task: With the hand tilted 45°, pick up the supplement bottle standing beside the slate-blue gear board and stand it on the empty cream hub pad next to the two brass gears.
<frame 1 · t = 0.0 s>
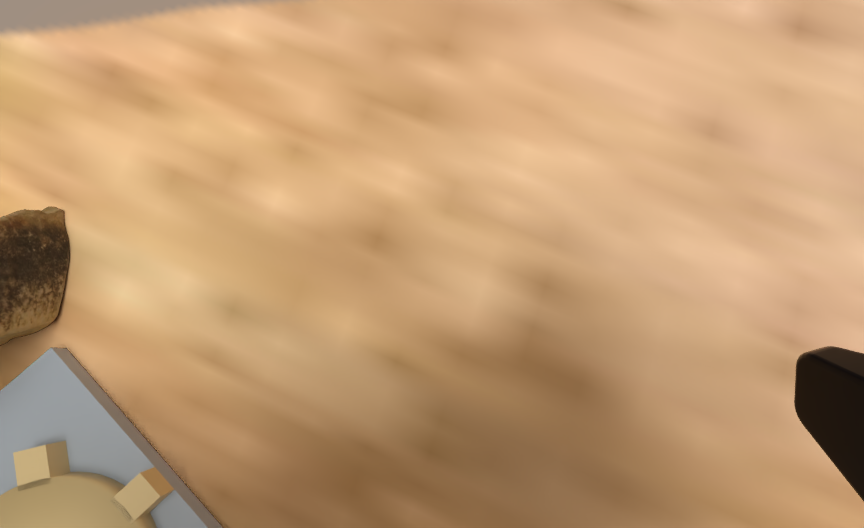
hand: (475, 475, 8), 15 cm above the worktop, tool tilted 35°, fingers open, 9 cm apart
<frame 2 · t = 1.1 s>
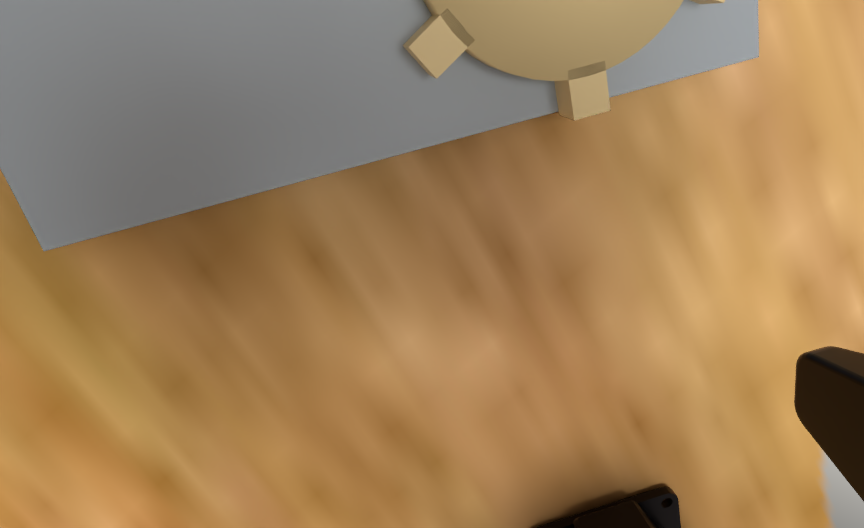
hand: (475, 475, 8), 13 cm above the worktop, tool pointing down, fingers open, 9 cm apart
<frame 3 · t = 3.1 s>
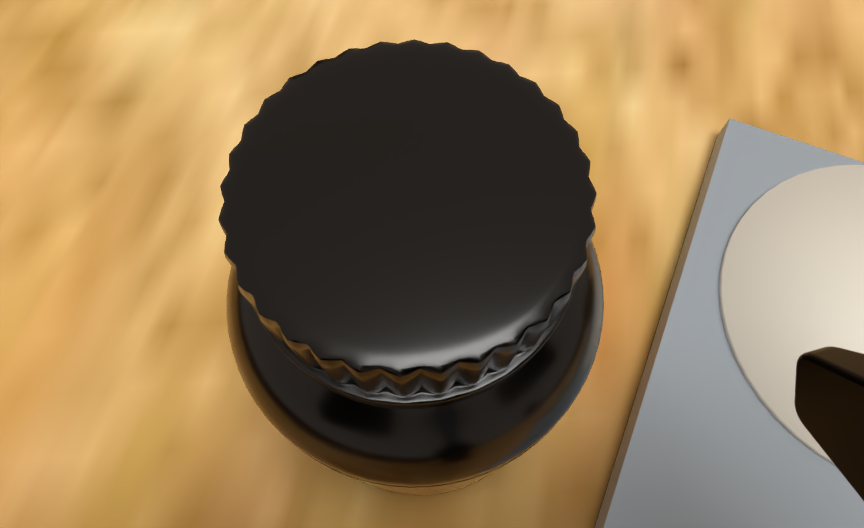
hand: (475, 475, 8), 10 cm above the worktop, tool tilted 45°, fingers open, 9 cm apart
supplement bottle: (424, 379, 19), on the worktop
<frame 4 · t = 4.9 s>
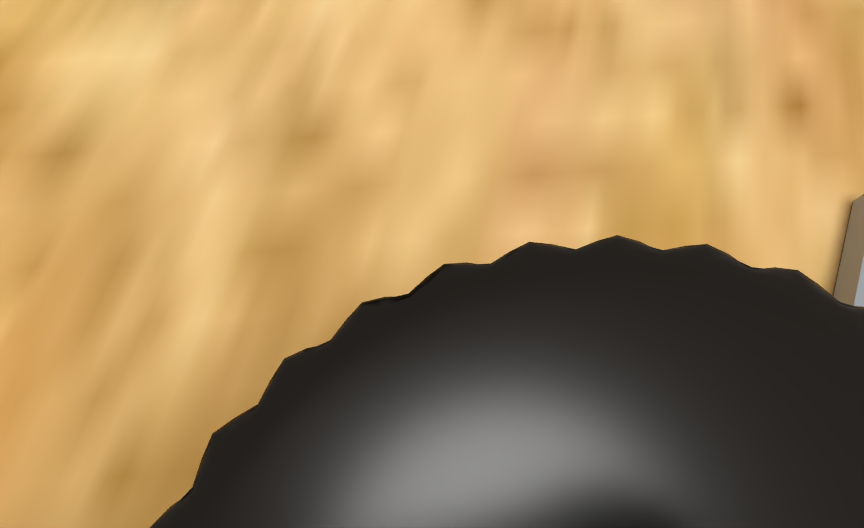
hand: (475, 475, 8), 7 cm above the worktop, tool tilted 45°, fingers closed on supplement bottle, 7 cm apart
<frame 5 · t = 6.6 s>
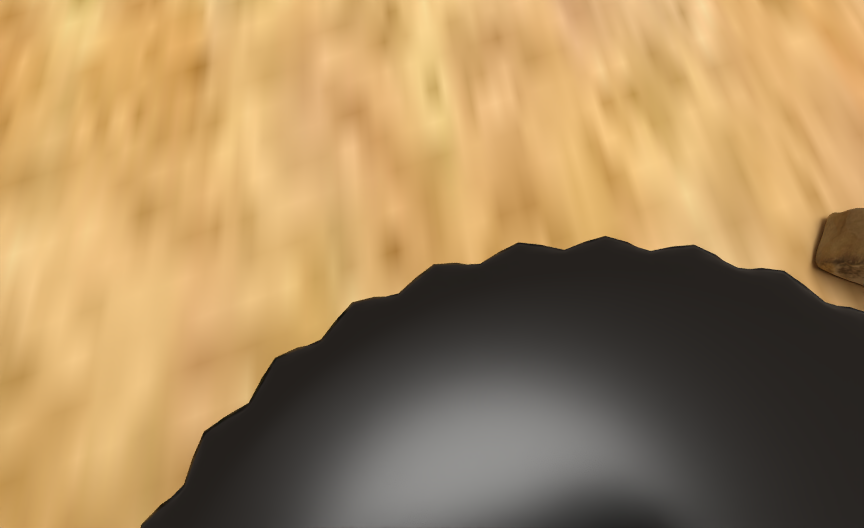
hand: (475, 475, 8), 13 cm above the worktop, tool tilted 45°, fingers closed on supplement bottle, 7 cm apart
when the fingers open (9 cm above the worktop, at t = 8.3 s): supplement bottle stays where it is, resting on hub pad.
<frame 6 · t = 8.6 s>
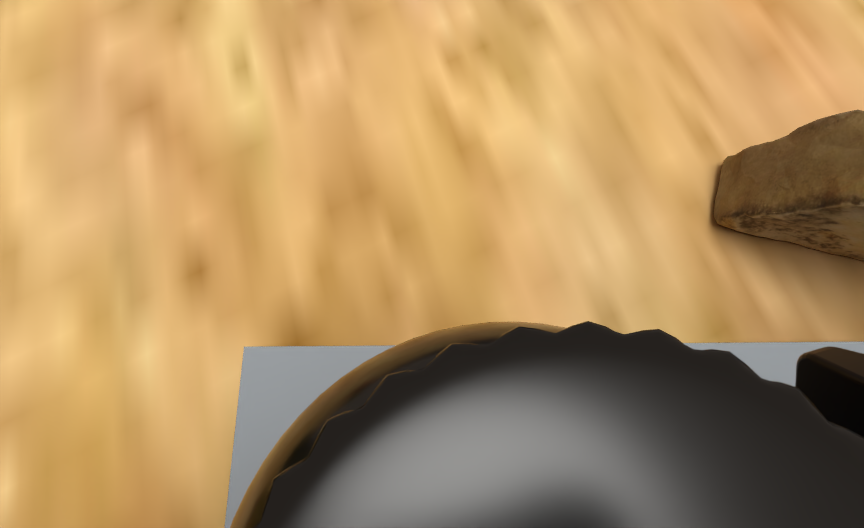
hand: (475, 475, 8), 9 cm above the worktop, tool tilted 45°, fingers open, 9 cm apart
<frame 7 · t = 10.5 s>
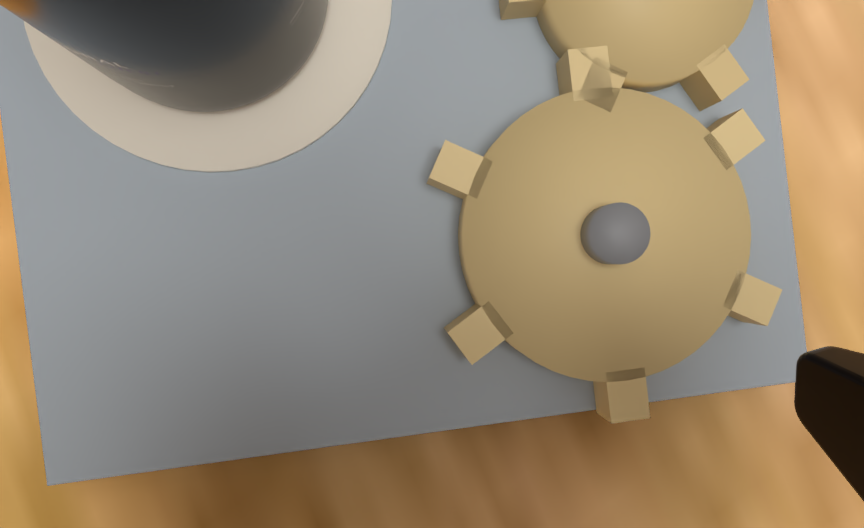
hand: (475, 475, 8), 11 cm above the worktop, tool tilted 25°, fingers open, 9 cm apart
hub pad: (221, 7, 18), resting on gear board
gear board: (406, 125, 19), on the worktop
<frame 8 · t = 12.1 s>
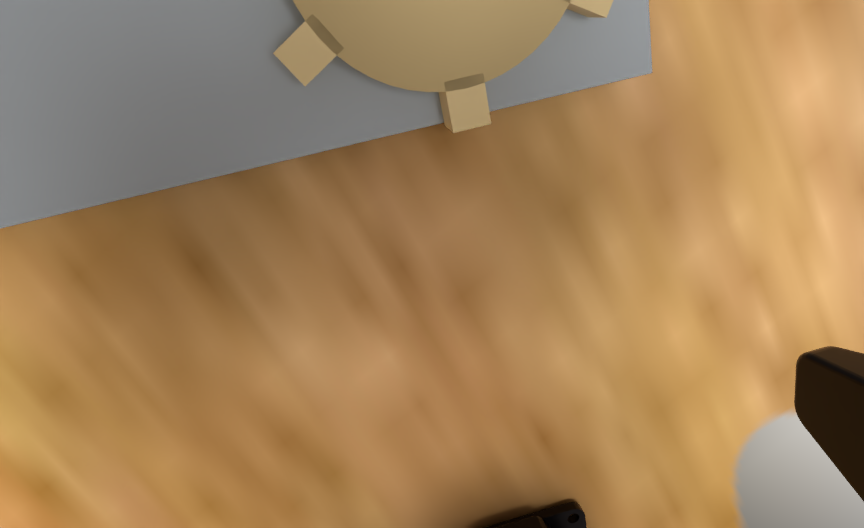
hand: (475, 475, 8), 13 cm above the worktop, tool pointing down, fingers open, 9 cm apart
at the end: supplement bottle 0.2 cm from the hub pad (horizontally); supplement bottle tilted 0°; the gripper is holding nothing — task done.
